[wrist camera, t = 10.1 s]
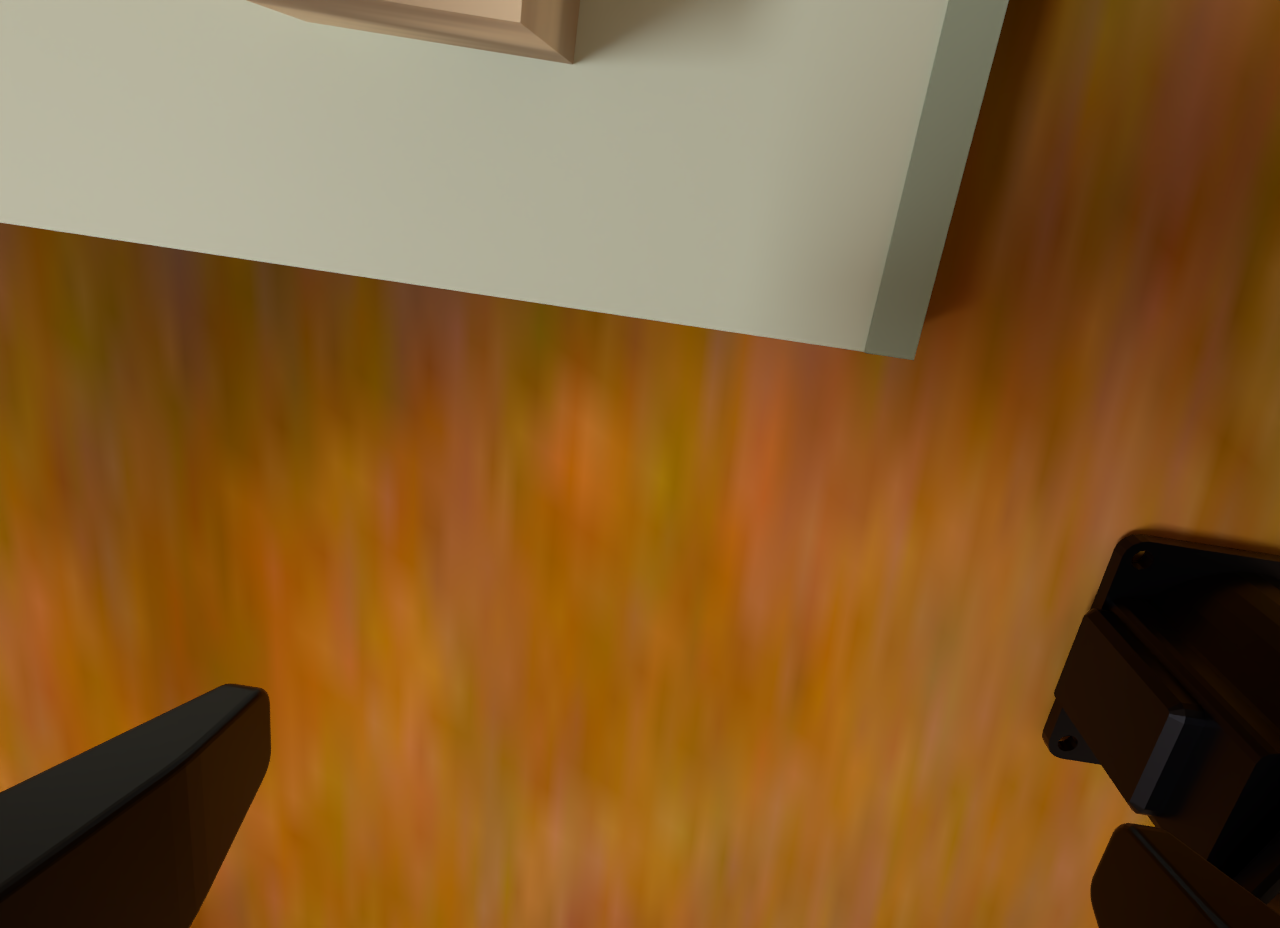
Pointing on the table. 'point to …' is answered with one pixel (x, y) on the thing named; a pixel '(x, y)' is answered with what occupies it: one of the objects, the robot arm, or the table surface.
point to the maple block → (454, 22)
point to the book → (523, 152)
